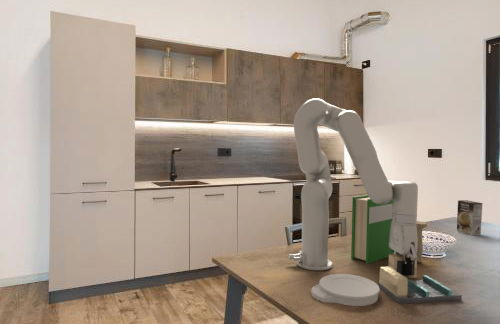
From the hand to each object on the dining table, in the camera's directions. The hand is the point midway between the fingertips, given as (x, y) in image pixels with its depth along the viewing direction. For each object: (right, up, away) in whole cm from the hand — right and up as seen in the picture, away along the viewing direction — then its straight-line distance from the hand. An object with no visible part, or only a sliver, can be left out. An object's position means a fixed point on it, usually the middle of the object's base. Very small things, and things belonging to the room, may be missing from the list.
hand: (402, 272), depth 117 cm
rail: (-1, -2, -13) cm, 13 cm away
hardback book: (-3, -1, +21) cm, 21 cm away
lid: (-23, -2, -14) cm, 27 cm away
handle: (+12, -1, +16) cm, 20 cm away
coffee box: (+61, +1, +61) cm, 86 cm away
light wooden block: (0, -1, 0) cm, 1 cm away
